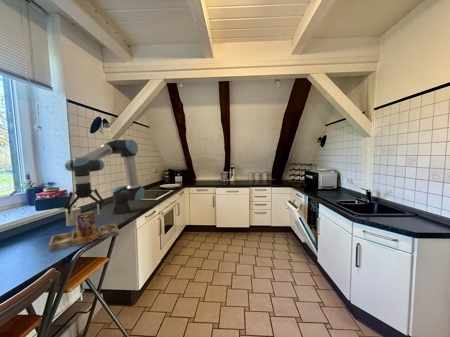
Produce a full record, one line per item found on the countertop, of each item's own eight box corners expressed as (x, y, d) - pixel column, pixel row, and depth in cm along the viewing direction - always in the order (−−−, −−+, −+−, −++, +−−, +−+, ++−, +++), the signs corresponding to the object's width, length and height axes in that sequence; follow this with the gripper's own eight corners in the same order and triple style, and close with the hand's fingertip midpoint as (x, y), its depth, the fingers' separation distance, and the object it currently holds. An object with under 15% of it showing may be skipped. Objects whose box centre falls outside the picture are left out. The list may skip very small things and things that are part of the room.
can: (73, 226, 143) (72, 210, 142) (62, 225, 145) (61, 209, 144) (84, 222, 152) (83, 207, 151) (74, 221, 154) (73, 206, 153)
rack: (115, 228, 140) (115, 223, 139) (119, 235, 127) (119, 230, 127) (52, 241, 120) (51, 235, 119) (49, 251, 107) (48, 245, 107)
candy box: (93, 233, 128) (92, 210, 127) (95, 235, 125) (94, 211, 124) (77, 238, 121) (75, 214, 120) (79, 240, 119) (77, 215, 117)
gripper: (106, 179, 131) (108, 211, 133) (56, 184, 116) (60, 219, 118) (107, 181, 125) (109, 213, 127) (55, 186, 110) (59, 222, 112)
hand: (85, 216), depth 123 cm, fingers open, 13 cm apart
